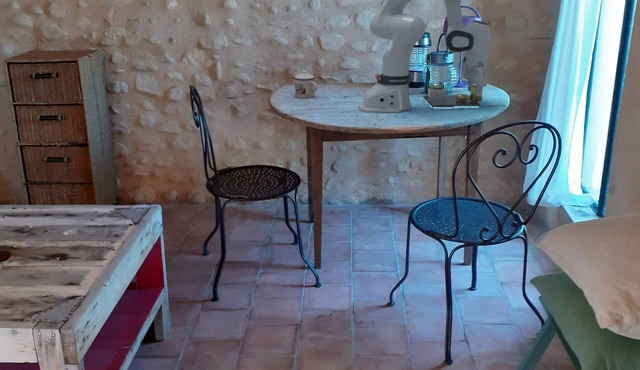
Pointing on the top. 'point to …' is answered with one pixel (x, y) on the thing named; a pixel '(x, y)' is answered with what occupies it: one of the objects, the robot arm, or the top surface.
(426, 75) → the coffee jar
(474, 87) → the brown boot
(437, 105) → the tribrach plate
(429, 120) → the top surface
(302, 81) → the teacup with lid
